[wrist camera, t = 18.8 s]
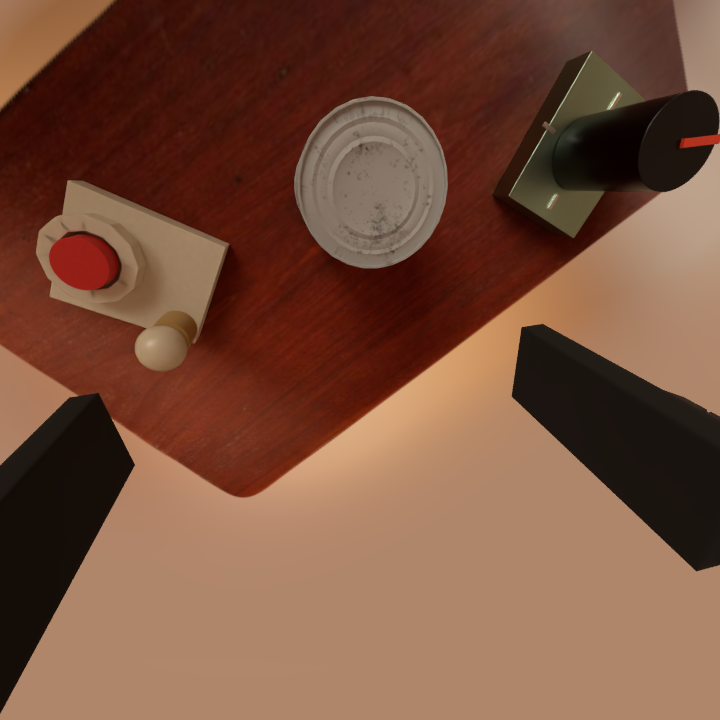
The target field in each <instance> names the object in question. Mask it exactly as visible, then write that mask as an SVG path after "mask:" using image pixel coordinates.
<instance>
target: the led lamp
mask: <svg viewBox="0 0 720 720" xmlns="http://www.w3.org/2000/svg"><path fill="white" fill-rule="evenodd" d="M197 330H198V329H197V324H196V322H195V321H194V319H193V318H192V317H191V316H190V315H188V314H186V313H184V312H181V311H169V312H167V313H165V314H164V315H162V316H161V317H160V318H159V320H158V321H157V322H156V323H155V324H154V325H153V326H152V327H149V328H147V329H146V330H144V331H143V332H142V333H141V334H140V335H139V336H138V338H137V340H136V343H135V353H136V356H137V358H138V360H139V361H140V362H141V363H142V364H143V365H144V366H145V367H147V368H149V369H151V370H155V371H169V370H172V369H174V368H176V367H178V366H179V365H180V364H181V363H182V362H183V361H184V360H185V358H186V355H187V351H188V348H189V346H190V345H191V343H192V342H193V340H194V338H195V337H196V335H197Z"/></svg>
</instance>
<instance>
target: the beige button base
mask: <svg viewBox="0 0 720 720" xmlns="http://www.w3.org/2000/svg"><path fill="white" fill-rule="evenodd" d="M75 235H91V236H94V237H96V238H99V239H101V240H102V241H104V242H105V243H106V244H108V245H109V246H110V247H111V248H112V250H113V251H114V252H115V254H116V256H117V259H118V262H119V271H118V274H117V276H116V277H115V279H114V280H113V281H111V282H110V283H108V284H106V285H104V286H102V287H100V288H98V289H95V290H80V289H76V288H74V287H71V286H69V285H67V284H66V283H64V282H63V281H62V280H61V279H60V278H59V277H58V276H57V275H56V274H55V273H54V271H53V269H52V268H51V265H50V262H49V252H50V249H51V247H52V246H53V244H54V243H55V242H57V241H58V240H60V239H63V238H66V237H71V236H75ZM228 247H229V243H226V242H224V241H222V240H219V239H217V238H215V237H212V236H210V235H208V234H205V233H203V232H201V231H198V230H196V229H194V228H191V227H189V226H187V225H185V224H182V223H180V222H178V221H175V220H173V219H171V218H168V217H166V216H164V215H161V214H159V213H157V212H154V211H152V210H150V209H147V208H145V207H143V206H140V205H138V204H136V203H133V202H131V201H129V200H126V199H124V198H122V197H119V196H117V195H115V194H112V193H110V192H108V191H106V190H103V189H101V188H99V187H96V186H94V185H92V184H89V183H87V182H85V181H76V180H68V181H67V188H66V194H65V201H64V207H63V214H62V215H60V216H56V217H55V218H53V219H52V220H51V221H50V222H49V223H48V224H46V225H45V226H44V227H43V228H42V229H41V230H39V234H38V242H37V249H36V255H37V257H38V259H39V261H40V263H41V265H42V267H43V270H44V272H45V274H46V276H47V277H48V279H49V280H51V281H52V284H51V291H50V297H51V298H55V299H58V300H61V301H64V302H67V303H70V304H73V305H76V306H79V307H82V308H85V309H89V310H92V311H95V312H98V313H101V314H104V315H107V316H110V317H113V318H116V319H119V320H122V321H126V322H129V323H132V324H135V325H138V326H141V327H144V328H149V327H152V326H153V325H154V324H155V323H156V322H157V321H158V320H159V318H160V317H161V316H162V315H164V314H165V313H167V312H169V311H181V312H184V313H186V314H188V315H190V316H191V317H192V318H193V319H194V321H195V322H196V324H197V329H198V330H197V335H196V337H195V338H194V340H193V342H192V343H194V344H195V342H196V341H197V339H198V337H199V336H200V333H201V330H202V327H203V324H204V321H205V318H206V315H207V312H208V308H209V305H210V302H211V299H212V296H213V293H214V290H215V287H216V284H217V281H218V278H219V275H220V272H221V269H222V266H223V262H224V259H225V256H226V253H227V250H228Z"/></svg>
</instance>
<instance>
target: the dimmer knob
mask: <svg viewBox="0 0 720 720" xmlns="http://www.w3.org/2000/svg"><path fill="white" fill-rule="evenodd" d="M718 129H719V112H718V107H717V105H716V103H715V101H714V99H713V98H712V97H711V96H710V95H709V94H707V93H705V92H703V91H698V90H691V91H686V92H682V93H678V94H674V95H670V96H665V97H661V98H657V99H653V100H649V101H645V102H640V103H636V104H632V105H628V106H624V107H619V108H615V109H611V110H607V111H603V112H599V113H594V114H590V115H586V116H583V117H581V118H579V119H577V120H576V121H574V122H573V123H572V124H571V125H569V126H568V128H567V129H566V130H565V131H564V132H563V134H562V135H561V137H560V139H559V141H558V143H557V145H556V148H555V151H554V156H553V172H554V175H555V178H556V180H557V182H558V183H559V184H560V185H561V186H562V187H563V188H565V189H567V190H571V191H615V192H667V191H671V190H674V189H676V188H678V187H680V186H682V185H683V184H685V183H686V182H688V181H689V180H690V179H691V178H692V177H693V176H694V175H695V174H696V173H697V172H698V171H699V170H700V169H701V167H702V166H703V165H704V163H705V162H706V160H707V159H708V157H709V155H710V153H711V151H712V149H713V147H714V144H718V143H719V142H720V134H719V135H717V134H718Z"/></svg>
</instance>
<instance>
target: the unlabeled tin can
mask: <svg viewBox="0 0 720 720" xmlns="http://www.w3.org/2000/svg"><path fill="white" fill-rule="evenodd" d="M294 186H295V196H296V201H297V205H298V207H299V210H300V212H301V214H302V216H303V219H304V221H305V223H306V225H307V227H308V230H309V232H310V233H311V234H312V236H313V237H314V238H315V240H316V241H317V242H318V244H319V245H320V246H321V247H322V248H323V249H324V250H325V251H327V252H328V253H329V254H330V255H331V256H332V257H334V258H336V259H338V260H340V261H342V262H344V263H346V264H348V265H352V266H356V267H360V268H382V267H386V266H391V265H394V264H396V263H398V262H400V261H403V260H405V259H407V258H408V257H409V256H411V255H412V254H413V253H415V252H416V251H417V250H419V249H420V248H421V247H422V245H423V244H424V243H425V242H426V241H427V240H428V239H429V237H430V236H431V234H432V233H433V231H434V229H435V228H436V226H437V224H438V222H439V220H440V217H441V214H442V212H443V209H444V206H445V201H446V194H447V187H448V182H447V166H446V162H445V158H444V154H443V150H442V147H441V145H440V143H439V141H438V139H437V137H436V135H435V133H434V131H433V130H432V129H431V127H430V126H429V125H428V124H427V122H426V121H425V120H424V118H423V117H422V116H420V115H419V114H418V113H416V112H415V111H414V110H413V109H411V108H410V107H409V106H407V105H405V104H402V103H400V102H398V101H395V100H393V99H390V98H382V97H373V96H371V97H365V98H359V99H353V100H351V101H349V102H347V103H345V104H343V105H341V106H339V107H336V108H335V109H334V110H333V111H331V112H330V113H329V114H328V115H327V116H326V117H324V118H323V119H322V120H321V121H320V122H319V124H318V125H317V126H316V128H315V129H314V131H313V132H312V133H311V135H310V136H309V138H308V140H307V143H306V145H305V147H304V150H303V152H302V154H301V158H300V160H299V162H298V165H297V168H296V173H295V179H294Z"/></svg>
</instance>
